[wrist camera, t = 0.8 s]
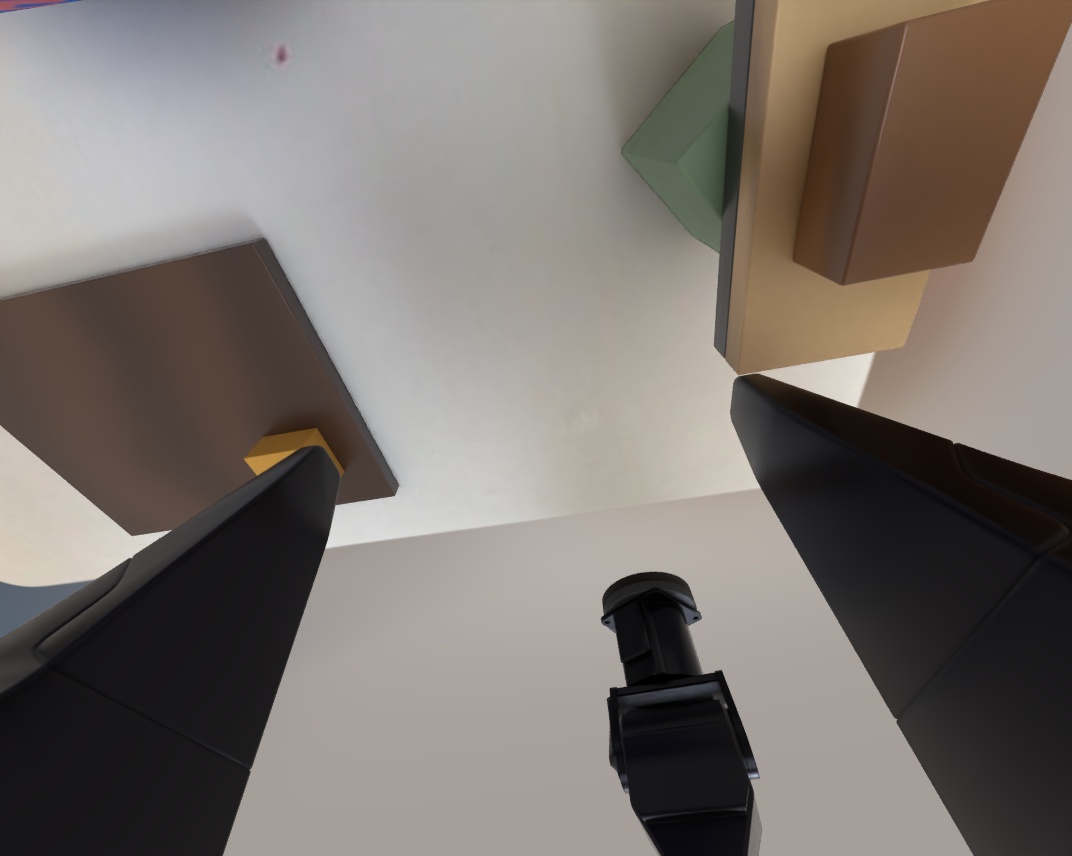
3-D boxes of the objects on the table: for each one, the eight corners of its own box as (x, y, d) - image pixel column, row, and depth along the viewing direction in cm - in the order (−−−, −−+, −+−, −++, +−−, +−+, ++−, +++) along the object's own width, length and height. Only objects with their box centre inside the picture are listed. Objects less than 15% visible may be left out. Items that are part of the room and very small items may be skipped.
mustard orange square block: (317, 427, 24) (301, 448, 22) (344, 471, 26) (332, 494, 24) (262, 436, 24) (242, 458, 23) (293, 479, 26) (278, 502, 25)
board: (265, 237, 19) (253, 242, 18) (399, 486, 28) (395, 496, 27) (-93, 320, 21) (-118, 327, 20) (142, 525, 30) (131, 536, 29)
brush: (742, -136, 8) (896, -332, 4) (1006, -214, 7) (1391, -495, 4) (712, 346, 13) (770, 414, 10) (858, 320, 13) (966, 383, 10)
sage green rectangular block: (793, 136, 17) (959, 138, 10) (692, 236, 19) (777, 291, 12) (722, 25, 15) (872, -60, 8) (619, 151, 17) (674, 162, 10)
